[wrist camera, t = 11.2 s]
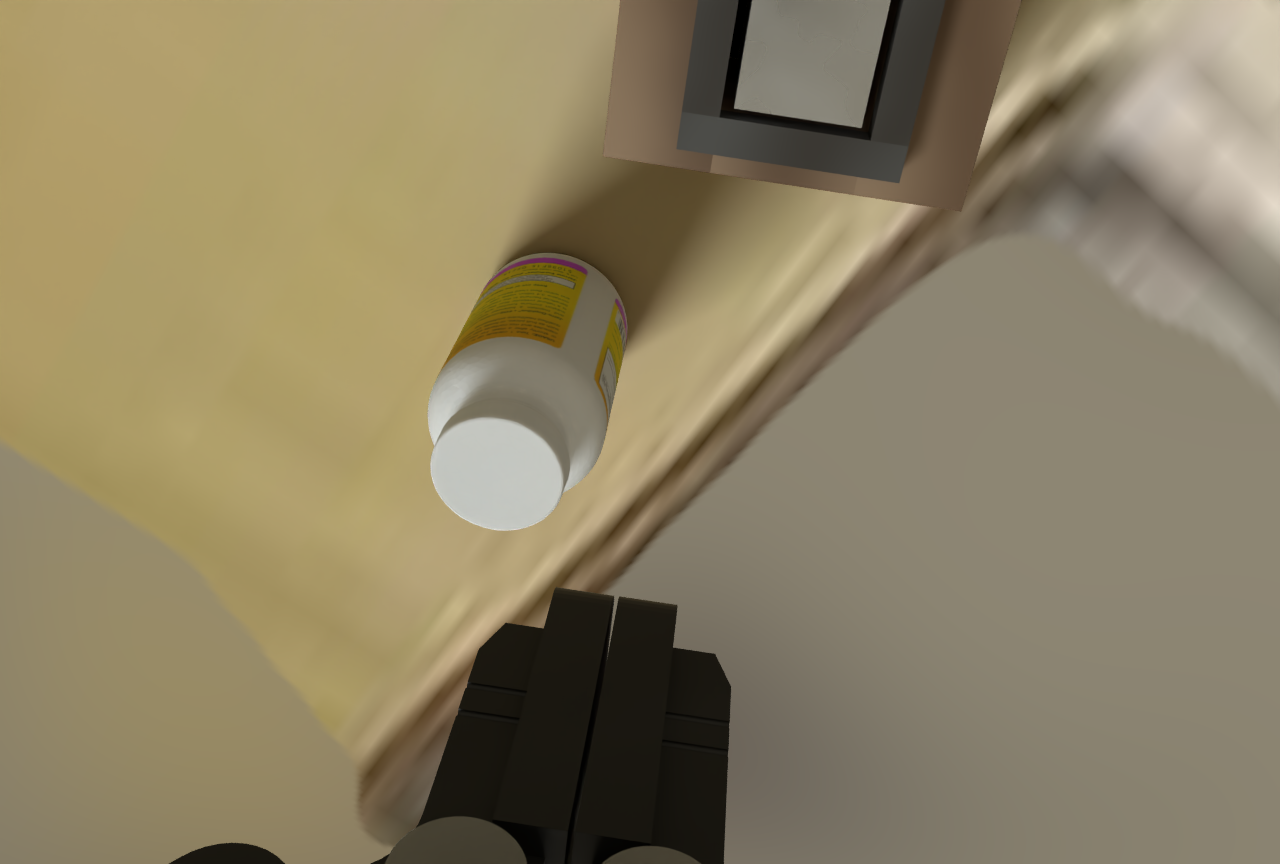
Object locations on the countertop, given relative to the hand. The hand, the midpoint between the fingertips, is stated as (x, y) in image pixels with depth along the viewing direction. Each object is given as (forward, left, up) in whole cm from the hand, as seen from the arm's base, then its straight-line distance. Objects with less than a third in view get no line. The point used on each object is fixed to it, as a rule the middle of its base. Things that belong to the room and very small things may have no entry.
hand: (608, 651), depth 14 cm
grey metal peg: (+3, +3, -33) cm, 33 cm away
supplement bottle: (-5, -12, -34) cm, 37 cm away
